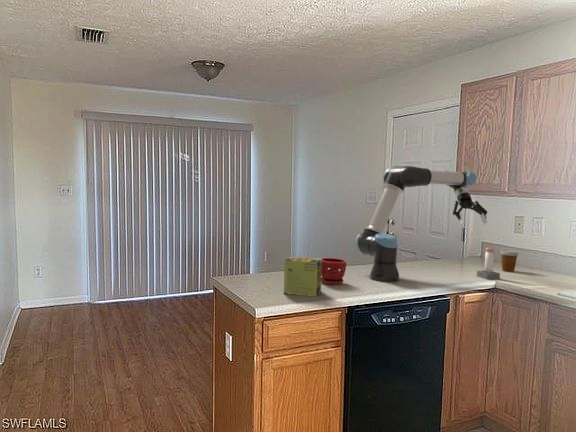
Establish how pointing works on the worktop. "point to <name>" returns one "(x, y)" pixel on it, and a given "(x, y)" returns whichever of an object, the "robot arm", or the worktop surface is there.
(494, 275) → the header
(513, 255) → the disposable coffee cup
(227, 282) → the worktop surface
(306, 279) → the protein box
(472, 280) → the worktop surface
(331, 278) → the plant pot
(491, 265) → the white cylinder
